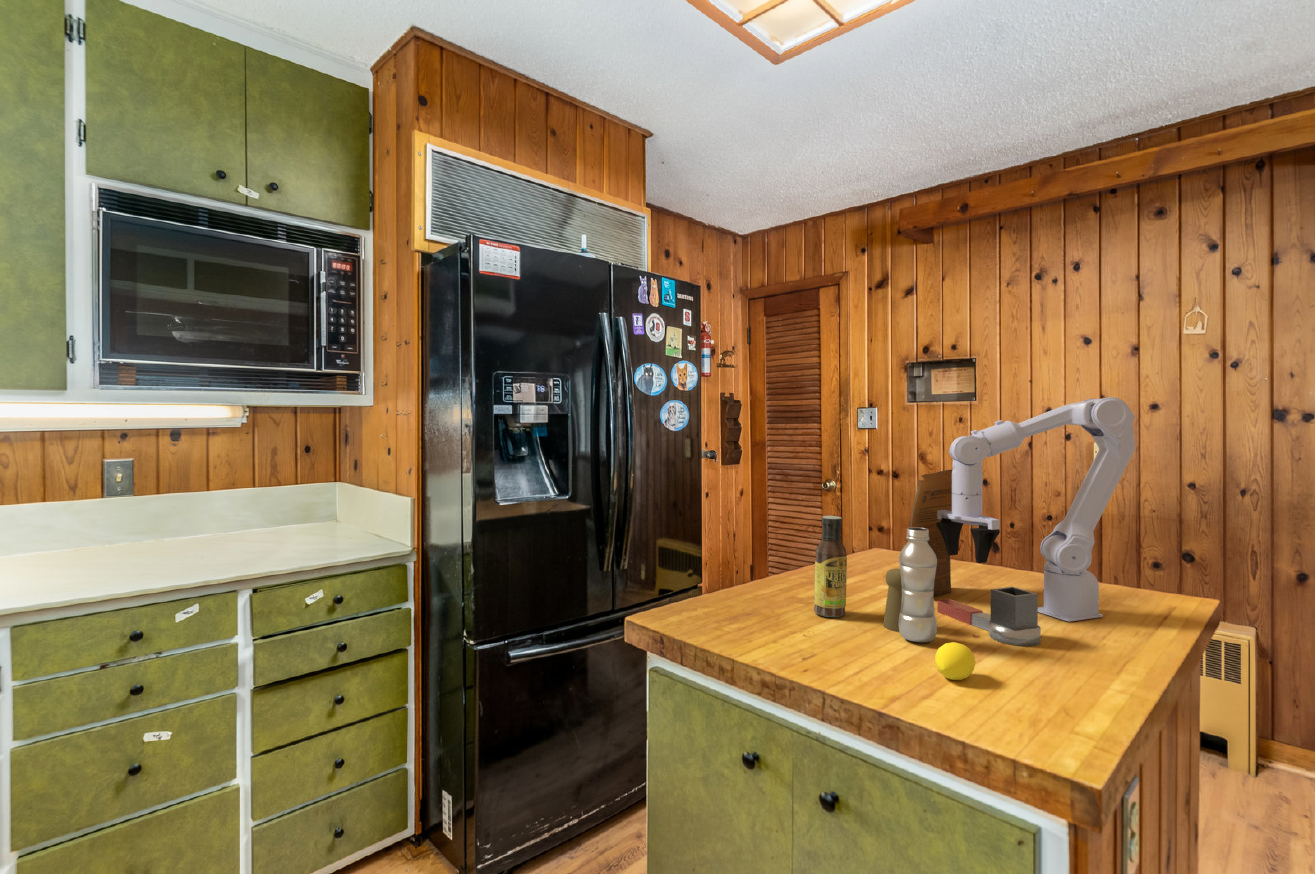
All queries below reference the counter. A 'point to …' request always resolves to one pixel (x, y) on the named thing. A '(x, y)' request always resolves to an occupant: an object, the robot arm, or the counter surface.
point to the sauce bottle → (830, 570)
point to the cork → (893, 600)
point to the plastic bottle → (917, 587)
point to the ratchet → (989, 624)
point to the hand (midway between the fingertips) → (966, 558)
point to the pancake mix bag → (928, 501)
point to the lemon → (955, 661)
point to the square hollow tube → (1014, 608)
